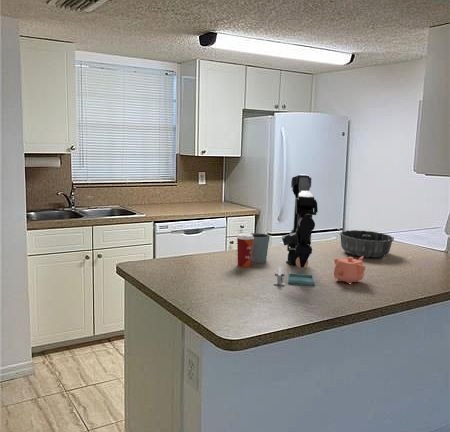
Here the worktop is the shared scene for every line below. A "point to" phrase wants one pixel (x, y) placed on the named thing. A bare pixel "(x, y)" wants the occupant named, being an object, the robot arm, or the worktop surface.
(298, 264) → the ball
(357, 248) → the bundt pan
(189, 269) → the worktop surface
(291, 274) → the coaster tray
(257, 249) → the grey tapered cup
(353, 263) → the pink piggy bank
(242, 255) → the paper cup
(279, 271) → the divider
